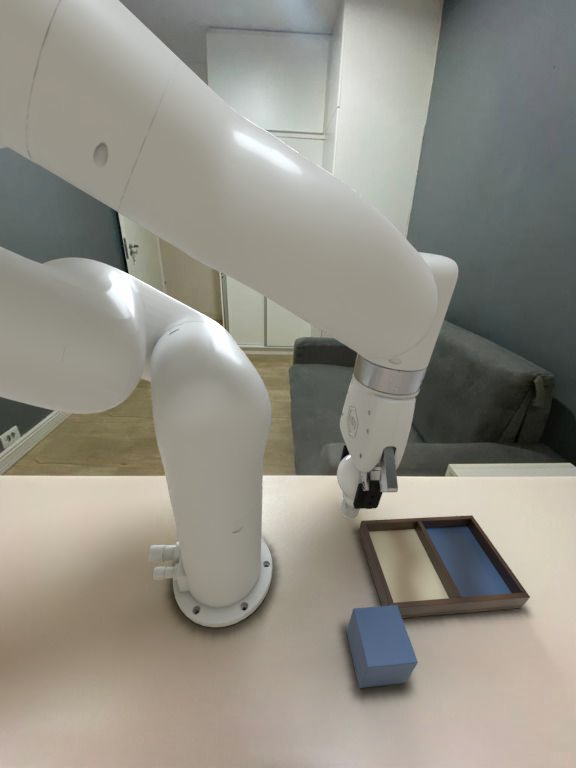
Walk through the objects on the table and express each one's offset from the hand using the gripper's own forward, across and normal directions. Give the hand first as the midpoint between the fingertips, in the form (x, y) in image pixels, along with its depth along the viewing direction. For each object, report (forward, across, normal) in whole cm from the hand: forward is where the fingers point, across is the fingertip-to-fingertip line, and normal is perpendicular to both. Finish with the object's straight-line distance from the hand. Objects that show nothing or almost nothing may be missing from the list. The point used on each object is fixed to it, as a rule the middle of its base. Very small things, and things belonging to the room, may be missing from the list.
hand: (357, 484), depth 43 cm
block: (+9, +16, -1) cm, 18 cm away
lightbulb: (+6, 0, 0) cm, 6 cm away
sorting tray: (+9, +7, +11) cm, 15 cm away
